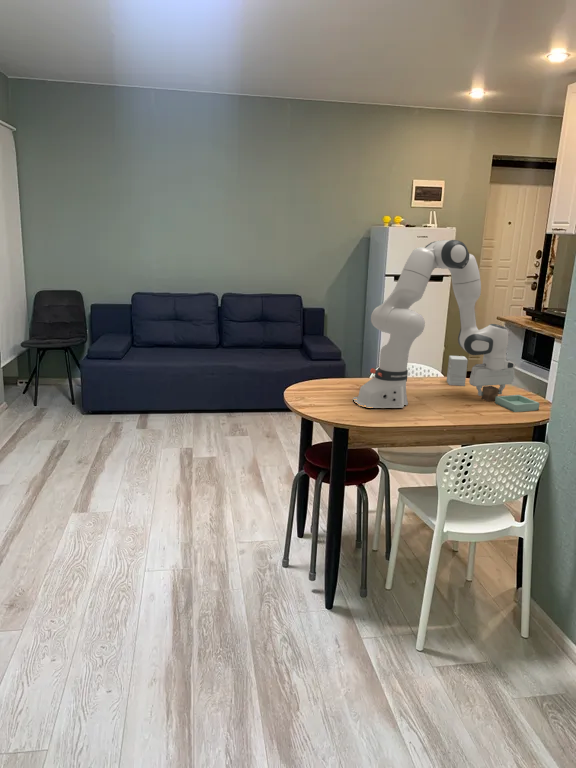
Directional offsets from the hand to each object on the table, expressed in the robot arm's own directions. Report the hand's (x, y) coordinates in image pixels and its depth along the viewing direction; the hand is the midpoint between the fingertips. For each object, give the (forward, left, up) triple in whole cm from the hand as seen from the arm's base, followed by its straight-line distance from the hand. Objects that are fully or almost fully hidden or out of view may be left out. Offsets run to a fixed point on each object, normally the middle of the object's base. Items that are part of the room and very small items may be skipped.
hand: (489, 394), depth 246 cm
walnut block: (0, 0, -2) cm, 2 cm away
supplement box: (+1, +26, -2) cm, 26 cm away
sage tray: (+5, -11, -2) cm, 12 cm away
